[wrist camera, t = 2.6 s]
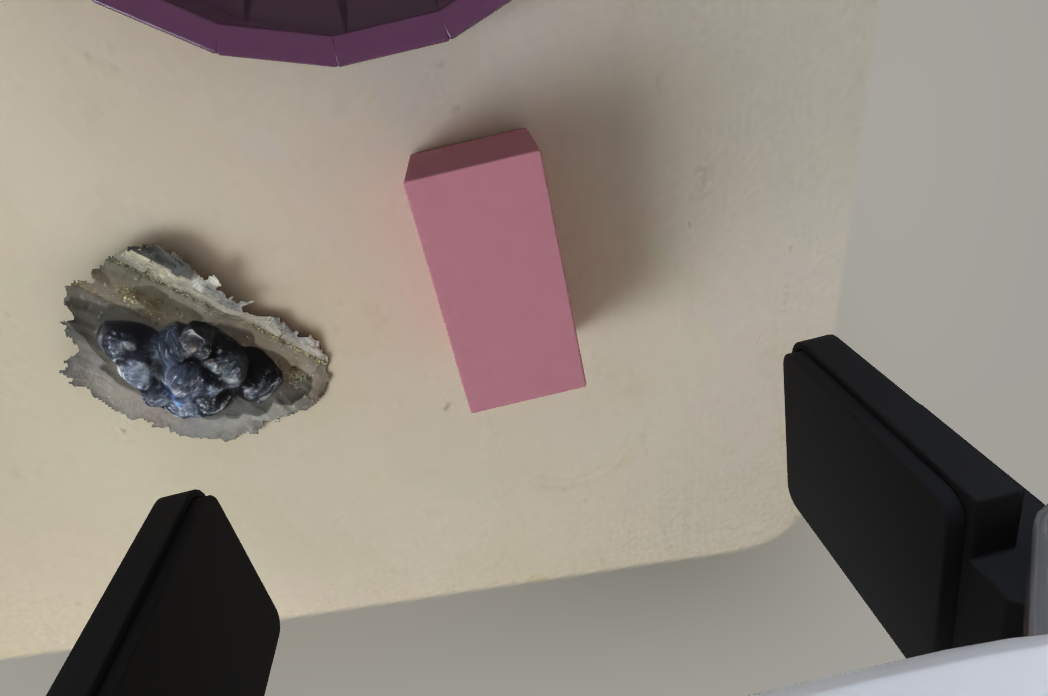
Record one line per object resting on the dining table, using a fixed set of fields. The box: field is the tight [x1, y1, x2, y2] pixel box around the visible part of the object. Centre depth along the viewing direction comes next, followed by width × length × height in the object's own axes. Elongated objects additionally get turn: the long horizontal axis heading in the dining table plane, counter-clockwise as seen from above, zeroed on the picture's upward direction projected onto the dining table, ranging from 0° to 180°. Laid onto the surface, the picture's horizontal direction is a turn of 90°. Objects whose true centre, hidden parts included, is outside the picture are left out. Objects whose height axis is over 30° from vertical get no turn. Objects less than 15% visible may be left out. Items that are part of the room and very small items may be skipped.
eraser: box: [404, 128, 586, 413], centre depth 20 cm, size 7×4×4 cm, turn 12°
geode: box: [59, 243, 331, 442], centre depth 21 cm, size 7×8×2 cm
